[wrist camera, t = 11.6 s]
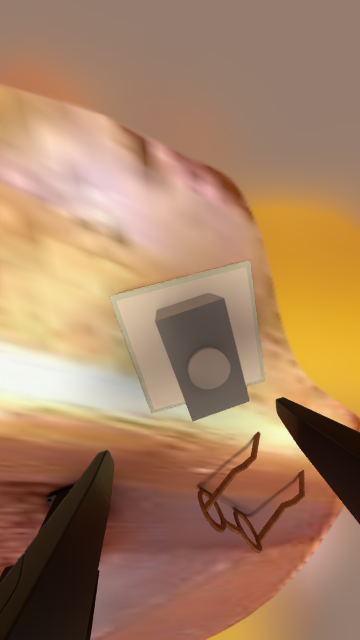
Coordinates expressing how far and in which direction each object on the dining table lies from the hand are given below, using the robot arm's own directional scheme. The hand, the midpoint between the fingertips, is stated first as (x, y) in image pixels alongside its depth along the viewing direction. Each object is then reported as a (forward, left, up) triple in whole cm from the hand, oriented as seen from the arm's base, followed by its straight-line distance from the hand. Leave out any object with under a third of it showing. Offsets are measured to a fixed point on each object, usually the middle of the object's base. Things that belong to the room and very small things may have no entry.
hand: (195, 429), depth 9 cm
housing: (+1, -2, -8) cm, 8 cm away
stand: (+1, -2, -11) cm, 11 cm away
